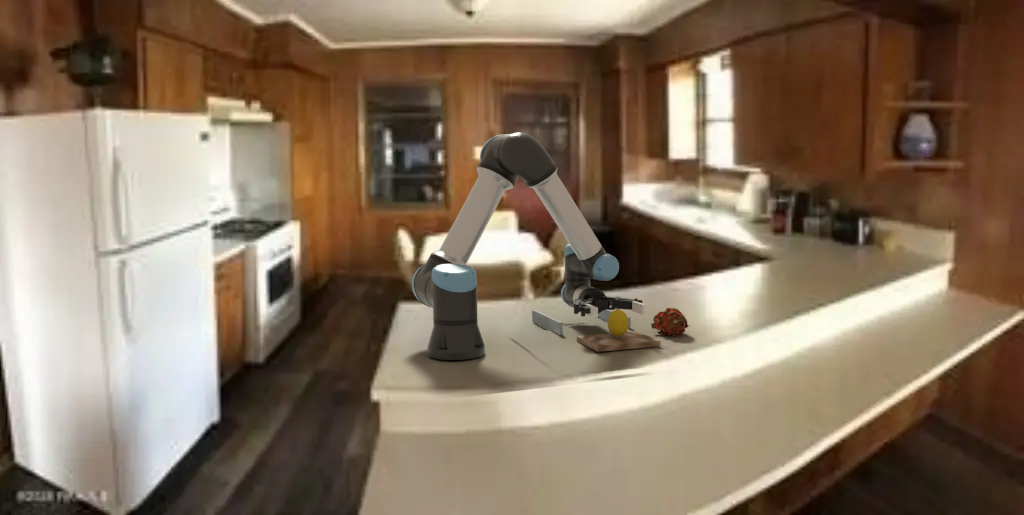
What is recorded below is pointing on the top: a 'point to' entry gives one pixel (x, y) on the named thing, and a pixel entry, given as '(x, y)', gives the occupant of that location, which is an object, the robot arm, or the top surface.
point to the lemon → (618, 323)
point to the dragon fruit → (670, 322)
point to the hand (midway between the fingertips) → (620, 311)
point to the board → (618, 341)
